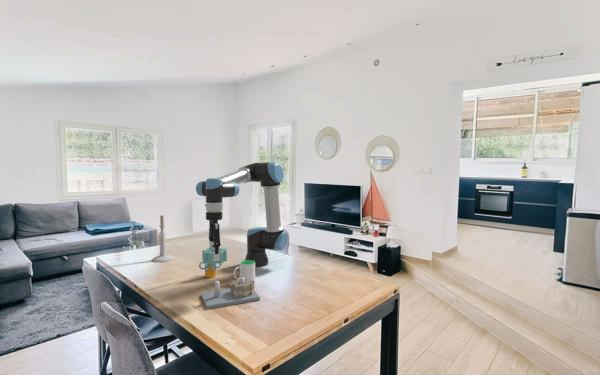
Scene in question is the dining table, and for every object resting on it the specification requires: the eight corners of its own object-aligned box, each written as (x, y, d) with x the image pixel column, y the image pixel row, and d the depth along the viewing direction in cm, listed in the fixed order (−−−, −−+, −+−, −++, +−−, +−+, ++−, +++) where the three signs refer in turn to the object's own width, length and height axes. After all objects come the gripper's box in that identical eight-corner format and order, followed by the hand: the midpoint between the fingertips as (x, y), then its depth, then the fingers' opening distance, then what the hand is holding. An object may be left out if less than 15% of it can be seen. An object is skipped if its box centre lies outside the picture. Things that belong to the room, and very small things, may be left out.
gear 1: (224, 256, 164) (224, 246, 163) (229, 262, 154) (228, 252, 153) (201, 259, 159) (201, 248, 159) (204, 265, 149) (204, 254, 149)
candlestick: (177, 258, 223) (176, 214, 222) (160, 263, 213) (159, 216, 211) (165, 256, 230) (164, 213, 228) (148, 260, 219) (147, 215, 218)
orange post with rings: (214, 280, 180) (213, 253, 180) (196, 279, 182) (196, 252, 182) (223, 273, 192) (223, 248, 191) (207, 272, 194) (206, 247, 194)
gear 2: (244, 286, 167) (244, 277, 166) (258, 292, 159) (258, 282, 159) (226, 292, 159) (226, 282, 158) (240, 299, 151) (240, 288, 151)
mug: (237, 286, 171) (237, 266, 171) (230, 282, 178) (230, 263, 177) (258, 281, 179) (257, 262, 178) (250, 277, 185) (250, 259, 184)
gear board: (249, 288, 169) (249, 271, 169) (259, 300, 154) (259, 282, 153) (201, 295, 159) (200, 278, 159) (206, 309, 144) (206, 290, 143)
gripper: (202, 208, 164) (202, 252, 165) (209, 214, 143) (209, 265, 144) (218, 208, 167) (218, 251, 168) (227, 213, 146) (227, 263, 147)
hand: (214, 257), depth 156 cm, fingers closed on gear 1, 11 cm apart
